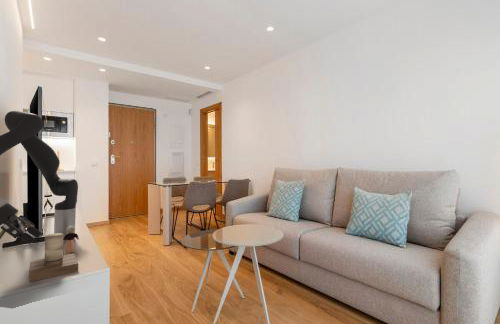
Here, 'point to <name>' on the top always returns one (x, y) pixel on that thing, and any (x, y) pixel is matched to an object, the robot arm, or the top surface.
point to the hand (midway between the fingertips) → (36, 238)
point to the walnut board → (53, 268)
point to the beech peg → (53, 249)
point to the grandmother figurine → (70, 240)
